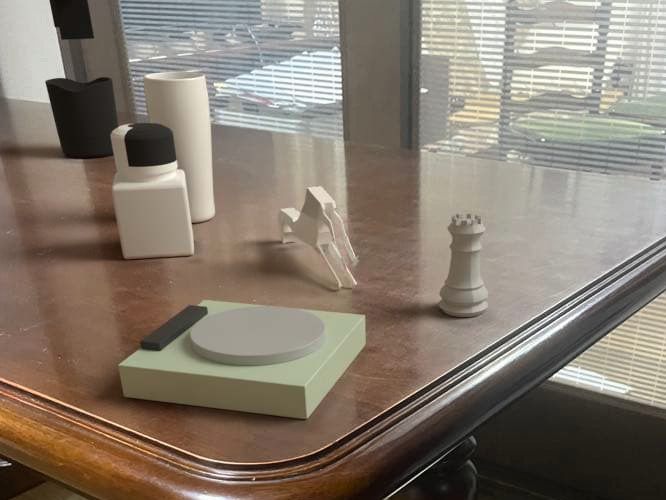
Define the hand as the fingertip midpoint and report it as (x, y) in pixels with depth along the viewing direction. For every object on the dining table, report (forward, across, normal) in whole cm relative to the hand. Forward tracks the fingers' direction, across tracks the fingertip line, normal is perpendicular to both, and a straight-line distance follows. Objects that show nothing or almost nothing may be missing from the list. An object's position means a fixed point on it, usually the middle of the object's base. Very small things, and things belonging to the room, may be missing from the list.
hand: (73, 32), depth 81 cm
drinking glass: (+20, +10, -10) cm, 24 cm away
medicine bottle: (+20, -1, -5) cm, 21 cm away
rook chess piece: (+20, -30, -27) cm, 45 cm away
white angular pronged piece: (+20, -12, -19) cm, 30 cm away
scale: (+20, -36, -7) cm, 42 cm away
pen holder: (+20, +53, -2) cm, 57 cm away
